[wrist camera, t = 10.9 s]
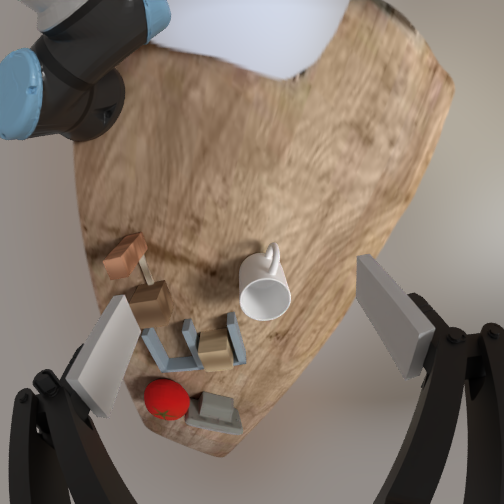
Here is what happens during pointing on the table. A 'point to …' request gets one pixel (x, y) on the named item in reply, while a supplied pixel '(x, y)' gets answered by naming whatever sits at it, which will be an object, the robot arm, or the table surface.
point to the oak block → (216, 350)
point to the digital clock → (214, 414)
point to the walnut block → (146, 295)
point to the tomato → (166, 399)
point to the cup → (263, 285)
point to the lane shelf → (192, 347)
